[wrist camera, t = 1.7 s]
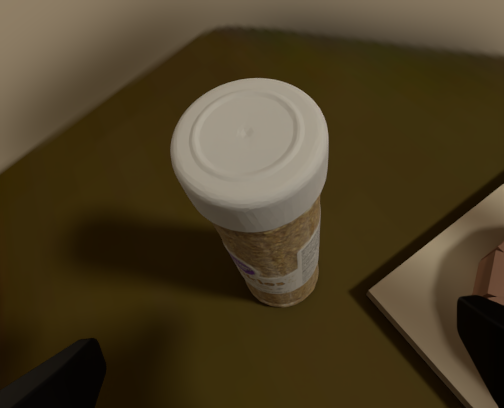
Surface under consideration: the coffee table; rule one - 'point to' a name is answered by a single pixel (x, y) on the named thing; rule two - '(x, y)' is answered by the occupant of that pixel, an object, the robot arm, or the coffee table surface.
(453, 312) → the collar base
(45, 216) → the coffee table surface
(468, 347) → the robot arm
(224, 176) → the sprinkles bottle
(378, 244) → the coffee table surface
